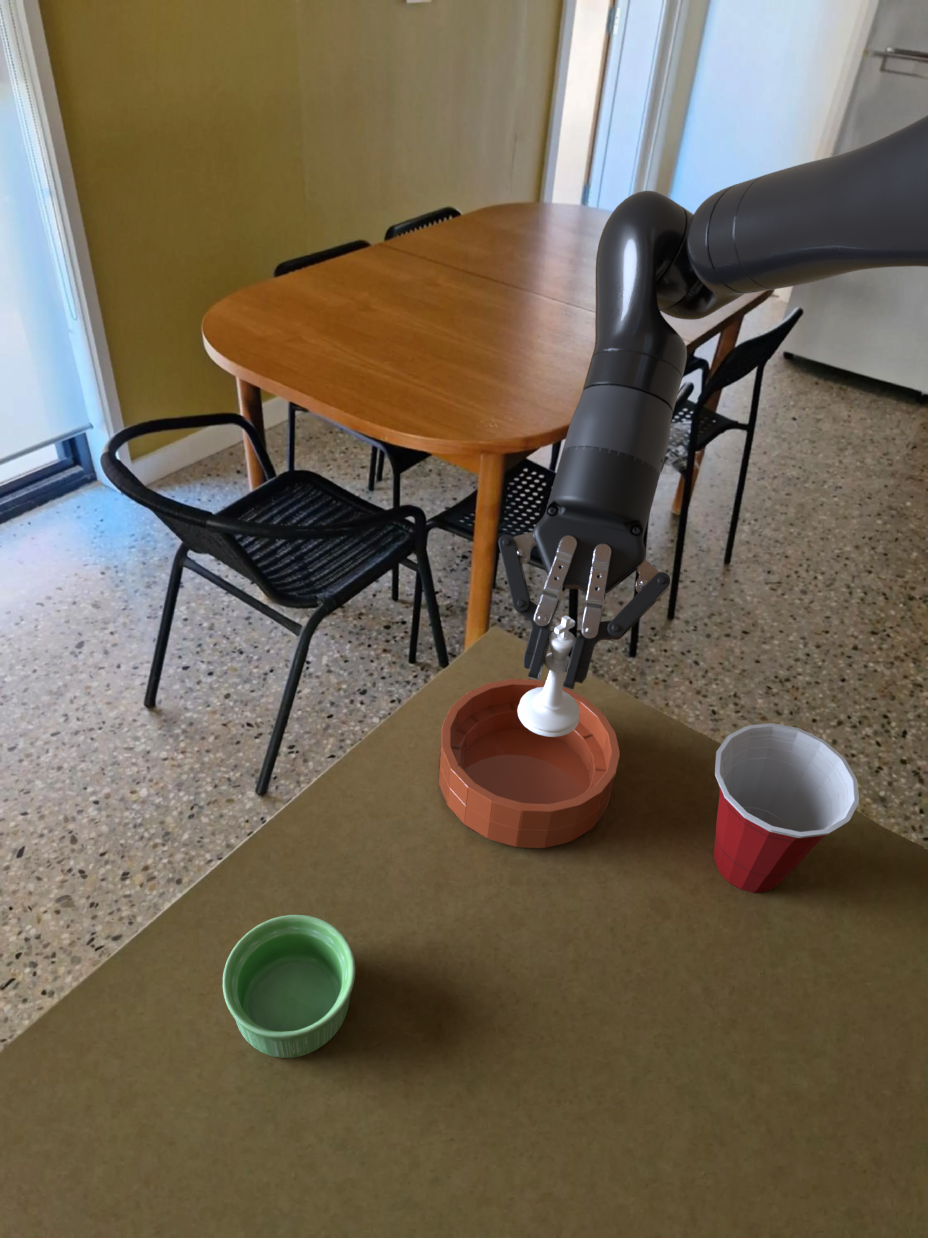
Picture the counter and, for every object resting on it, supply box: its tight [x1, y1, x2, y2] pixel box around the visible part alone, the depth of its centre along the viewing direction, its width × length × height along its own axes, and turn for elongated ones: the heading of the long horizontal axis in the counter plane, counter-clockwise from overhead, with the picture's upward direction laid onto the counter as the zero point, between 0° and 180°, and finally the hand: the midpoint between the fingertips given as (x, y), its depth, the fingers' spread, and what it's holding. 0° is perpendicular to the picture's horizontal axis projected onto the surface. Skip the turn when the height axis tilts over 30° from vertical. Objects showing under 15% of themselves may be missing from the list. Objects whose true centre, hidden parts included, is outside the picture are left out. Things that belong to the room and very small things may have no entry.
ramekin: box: [222, 914, 356, 1059], centre depth 62 cm, size 9×9×4 cm
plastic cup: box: [713, 722, 860, 894], centre depth 72 cm, size 11×11×12 cm
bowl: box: [438, 678, 621, 849], centre depth 80 cm, size 16×16×6 cm
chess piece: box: [518, 614, 580, 737], centre depth 67 cm, size 5×5×10 cm
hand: (551, 682), depth 65 cm, fingers closed on chess piece
